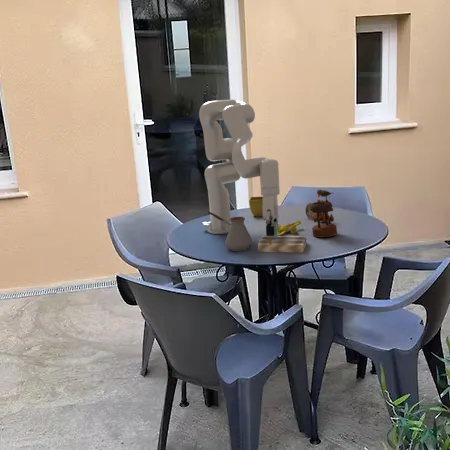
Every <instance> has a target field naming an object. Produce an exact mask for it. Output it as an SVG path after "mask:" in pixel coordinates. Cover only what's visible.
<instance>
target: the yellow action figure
mask: <svg viewBox="0 0 450 450" xmlns="http://www.w3.org/2000/svg"><path fill="white" fill-rule="evenodd" d="M299 225H302V222H301V220H298V221H296V222H292V223H286V224H284V225H281V224H278V236H282V235H284V234H285V233H290V234H292V235H294V234H296V232H297V226H299Z"/></svg>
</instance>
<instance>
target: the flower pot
mask: <svg viewBox="0 0 450 450" xmlns="http://www.w3.org/2000/svg"><path fill="white" fill-rule="evenodd" d="M248 202H249V209H250V212H251V214H252V215H253V217H261V216H262V217H263V196H262V195H261V196H250V197H249V199H248Z"/></svg>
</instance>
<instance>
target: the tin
mask: <svg viewBox="0 0 450 450" xmlns="http://www.w3.org/2000/svg"><path fill="white" fill-rule="evenodd" d="M312 203H313V202H309V203H308V204H306V207H305V215H306V218H307V219H308V220H310V221H312V222H314V219H316V218H317V213H313V212H312V211H311V209H310V206H311V204H312ZM321 214H322V213H321ZM327 215H329V212H327ZM324 217H325V212H324ZM319 218H320V215H319ZM315 223H318V222H317V221H316V222H315ZM322 223H325V222H324V221H322V222H321V221H320V224H322Z"/></svg>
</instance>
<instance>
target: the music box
mask: <svg viewBox="0 0 450 450" xmlns="http://www.w3.org/2000/svg"><path fill="white" fill-rule="evenodd" d="M316 194H317V198H319V197H321V198H322V197H324V198H325V200H324V199H317V201H316V202H311V203H312V204H311V206H310V209H311V211H312V212H313V213H317V218H316V219H314V221H313V222H314V223H317V224H316V225H313V226H312V229H311V230H312V237H315V238H327V237H333V236H335V235H337V234H338V228H337V227H338V226H337V225H336V224H335V223H333V222H334V221H335V218H334V215H333V213H331V212H333V211H334V207H333V203H332V202H331V201H330V200H329V201H328V198H329V199H331V196H330V195H332V194H333V192H331V191H328V190H325V189H317V191H316ZM324 212H325V217H324ZM327 212H328V213H330V215H329V214H328V215H327ZM321 213H322V214H321ZM319 215H320V218H319ZM316 221H317V222H316ZM320 221H321V223H320ZM322 221H324V222H322ZM331 222H332V223H331Z"/></svg>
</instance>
